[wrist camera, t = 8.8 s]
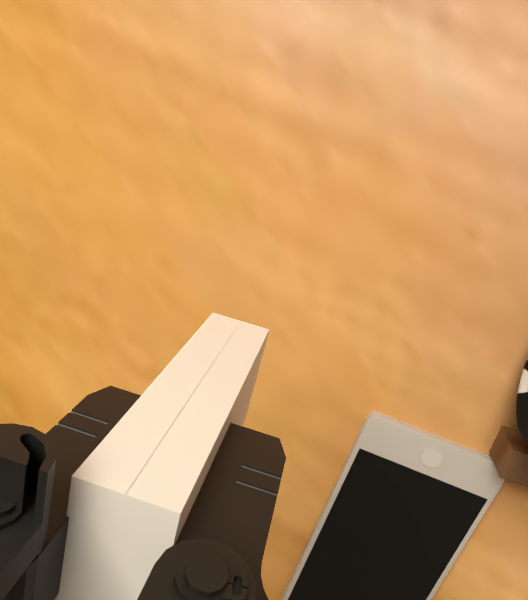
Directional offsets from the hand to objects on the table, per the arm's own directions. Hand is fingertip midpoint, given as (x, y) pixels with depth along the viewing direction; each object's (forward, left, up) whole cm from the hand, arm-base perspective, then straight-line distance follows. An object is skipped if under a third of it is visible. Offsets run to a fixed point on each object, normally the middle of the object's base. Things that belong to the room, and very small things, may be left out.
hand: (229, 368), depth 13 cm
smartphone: (+9, -14, -12) cm, 20 cm away
